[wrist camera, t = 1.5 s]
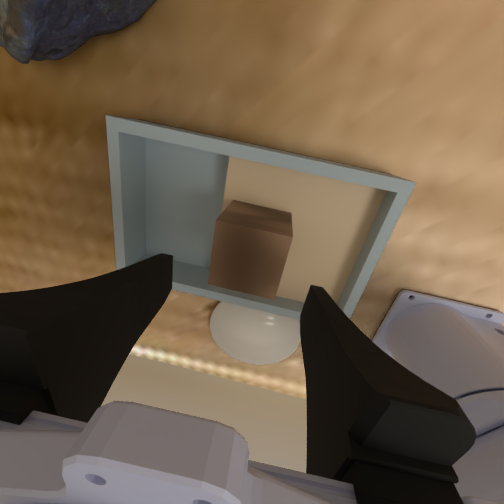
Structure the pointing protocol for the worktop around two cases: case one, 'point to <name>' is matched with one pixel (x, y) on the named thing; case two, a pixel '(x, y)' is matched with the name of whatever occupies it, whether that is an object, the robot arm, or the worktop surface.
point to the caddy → (254, 192)
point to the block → (250, 249)
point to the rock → (61, 24)
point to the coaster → (254, 334)
